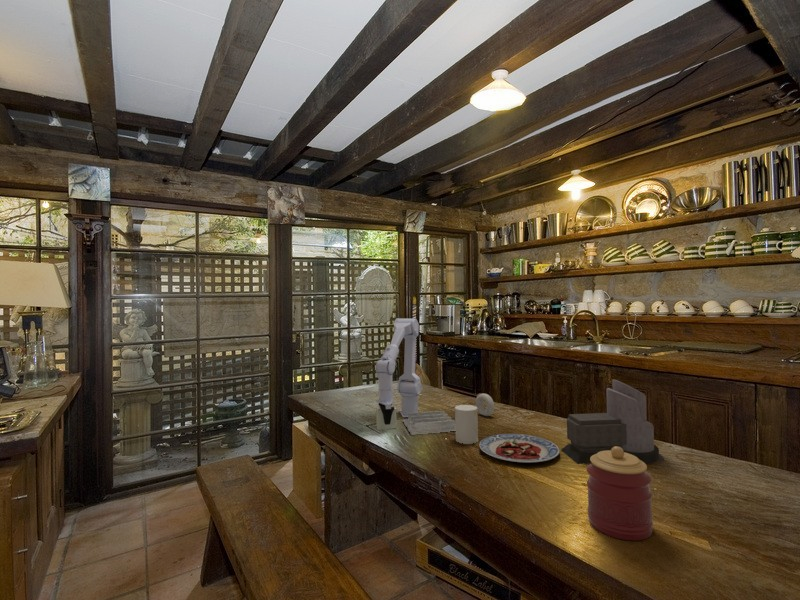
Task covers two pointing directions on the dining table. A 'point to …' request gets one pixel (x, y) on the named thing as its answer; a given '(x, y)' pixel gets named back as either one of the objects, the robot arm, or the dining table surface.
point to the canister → (619, 495)
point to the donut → (489, 403)
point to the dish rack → (429, 422)
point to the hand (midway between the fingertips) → (386, 422)
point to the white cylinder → (466, 424)
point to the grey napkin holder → (613, 428)
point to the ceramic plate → (519, 448)
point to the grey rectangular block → (381, 420)
